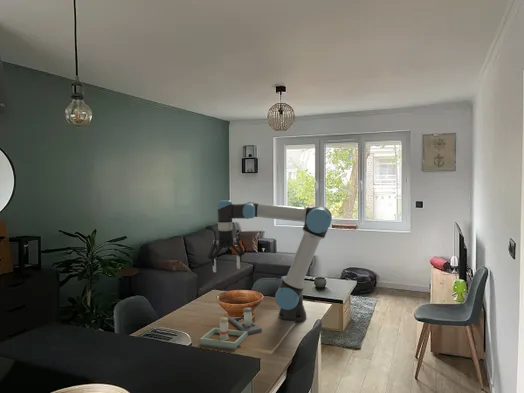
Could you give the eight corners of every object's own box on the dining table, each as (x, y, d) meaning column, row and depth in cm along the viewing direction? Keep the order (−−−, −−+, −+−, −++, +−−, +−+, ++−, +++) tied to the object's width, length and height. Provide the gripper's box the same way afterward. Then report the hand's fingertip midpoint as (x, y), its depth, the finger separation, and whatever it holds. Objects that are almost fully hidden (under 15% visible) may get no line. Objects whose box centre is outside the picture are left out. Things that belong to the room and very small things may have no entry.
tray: (247, 337, 187) (247, 331, 187) (235, 349, 174) (235, 343, 174) (214, 333, 194) (214, 327, 194) (200, 344, 181) (200, 338, 181)
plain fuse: (253, 326, 198) (252, 307, 198) (251, 330, 194) (250, 310, 194) (245, 326, 199) (244, 307, 198) (243, 329, 195) (242, 310, 194)
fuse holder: (228, 321, 210) (228, 316, 210) (241, 318, 214) (241, 314, 214) (247, 336, 189) (246, 331, 189) (261, 333, 192) (261, 328, 192)
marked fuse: (230, 338, 185) (229, 317, 185) (226, 341, 181) (225, 320, 181) (222, 337, 187) (221, 316, 187) (218, 340, 183) (217, 319, 182)
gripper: (244, 227, 213) (245, 265, 214) (200, 231, 202) (201, 271, 203) (249, 228, 207) (251, 268, 208) (205, 232, 195) (206, 274, 196)
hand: (226, 270), depth 205 cm, fingers open, 13 cm apart
